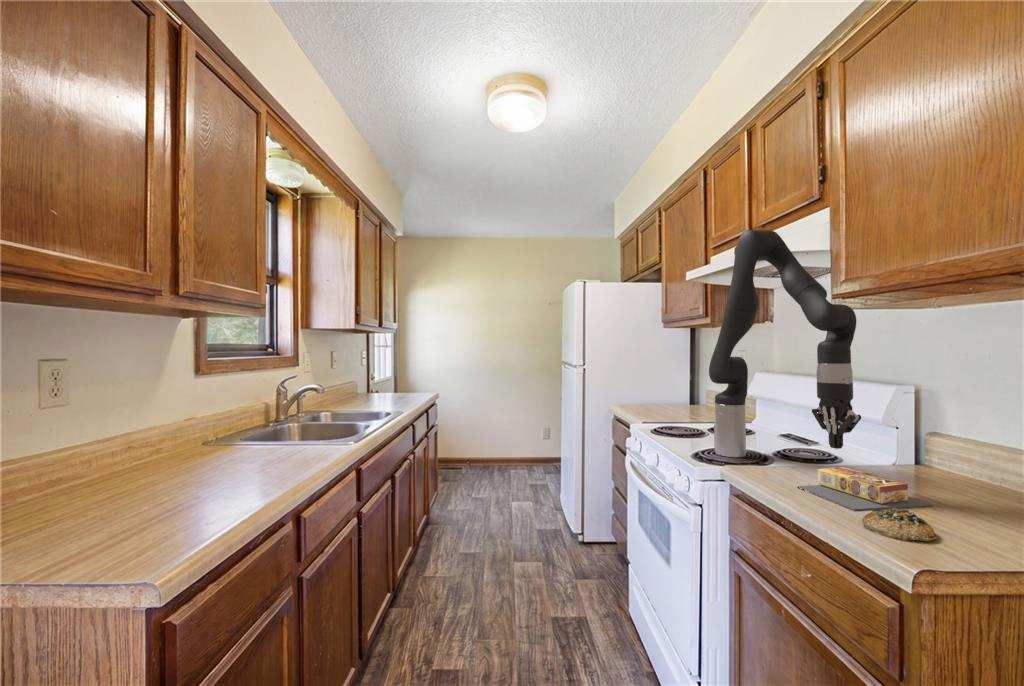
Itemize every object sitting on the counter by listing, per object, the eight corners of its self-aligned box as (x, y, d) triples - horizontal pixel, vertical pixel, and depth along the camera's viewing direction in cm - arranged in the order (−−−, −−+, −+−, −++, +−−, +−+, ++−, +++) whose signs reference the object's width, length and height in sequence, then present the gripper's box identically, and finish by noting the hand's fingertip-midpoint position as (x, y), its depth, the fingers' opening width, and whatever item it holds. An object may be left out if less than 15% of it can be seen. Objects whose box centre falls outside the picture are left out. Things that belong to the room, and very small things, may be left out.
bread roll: (893, 517, 92) (895, 495, 91) (952, 548, 81) (955, 523, 80) (846, 523, 90) (848, 500, 89) (901, 555, 79) (903, 529, 78)
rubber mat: (797, 487, 111) (797, 486, 111) (866, 484, 114) (866, 482, 114) (853, 510, 95) (853, 509, 95) (932, 506, 98) (932, 504, 98)
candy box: (816, 484, 113) (880, 505, 98) (816, 468, 113) (880, 486, 98) (842, 481, 115) (908, 501, 100) (842, 465, 115) (908, 483, 100)
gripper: (801, 379, 118) (802, 443, 118) (844, 382, 105) (845, 454, 104) (825, 379, 119) (827, 442, 118) (871, 382, 106) (873, 453, 105)
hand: (836, 447), depth 111 cm, fingers closed
